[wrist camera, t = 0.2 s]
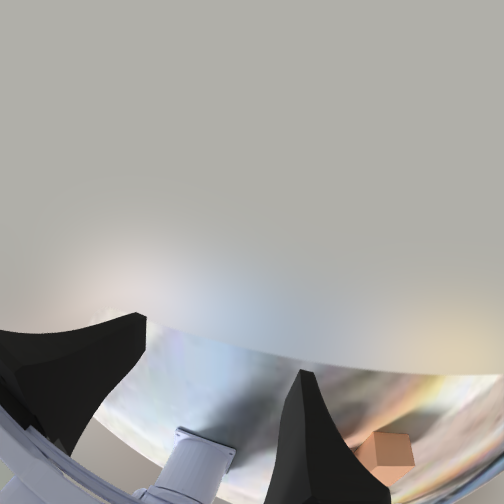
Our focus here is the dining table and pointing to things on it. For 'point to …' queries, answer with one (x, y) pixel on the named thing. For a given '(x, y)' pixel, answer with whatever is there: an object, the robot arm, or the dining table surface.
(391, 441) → the terracotta block
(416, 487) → the dining table surface
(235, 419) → the dining table surface
